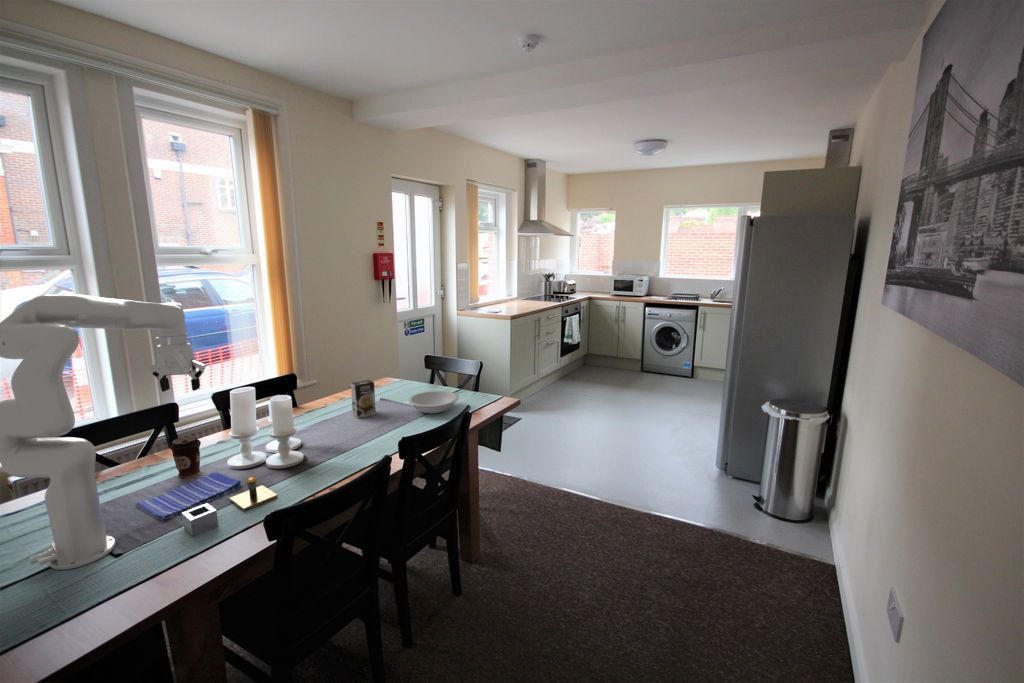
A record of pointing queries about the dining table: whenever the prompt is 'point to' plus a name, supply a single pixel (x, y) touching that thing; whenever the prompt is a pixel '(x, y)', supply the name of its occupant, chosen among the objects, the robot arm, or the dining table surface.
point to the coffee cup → (186, 456)
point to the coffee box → (363, 399)
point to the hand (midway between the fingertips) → (181, 389)
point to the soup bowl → (433, 401)
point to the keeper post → (253, 496)
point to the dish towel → (189, 496)
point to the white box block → (200, 519)
